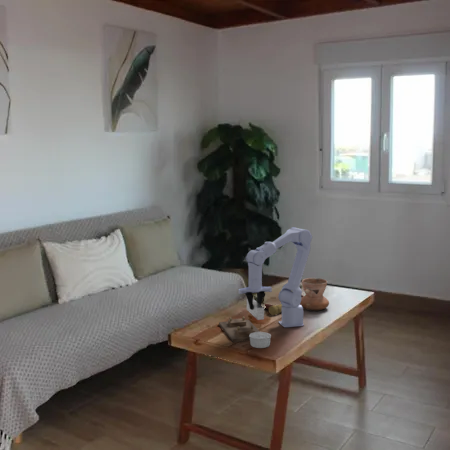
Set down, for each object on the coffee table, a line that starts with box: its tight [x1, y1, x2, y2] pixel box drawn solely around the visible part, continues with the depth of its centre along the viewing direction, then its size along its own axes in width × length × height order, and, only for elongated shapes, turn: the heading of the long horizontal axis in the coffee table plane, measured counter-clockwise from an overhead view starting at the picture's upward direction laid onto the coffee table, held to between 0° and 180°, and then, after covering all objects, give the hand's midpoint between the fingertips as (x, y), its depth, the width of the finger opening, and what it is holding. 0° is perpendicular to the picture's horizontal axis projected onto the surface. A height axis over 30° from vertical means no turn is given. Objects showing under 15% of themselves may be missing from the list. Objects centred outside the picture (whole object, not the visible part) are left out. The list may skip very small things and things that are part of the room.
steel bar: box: [246, 298, 265, 321], centre depth 263 cm, size 16×3×5 cm, turn 15°
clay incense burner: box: [299, 277, 330, 312], centre depth 299 cm, size 18×14×14 cm
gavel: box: [264, 303, 282, 316], centre depth 299 cm, size 21×5×10 cm
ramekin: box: [249, 331, 272, 349], centre depth 249 cm, size 9×9×4 cm
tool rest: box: [218, 316, 261, 343], centre depth 265 cm, size 14×24×4 cm, turn 14°
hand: (254, 308), depth 263 cm, fingers closed on steel bar, 3 cm apart
